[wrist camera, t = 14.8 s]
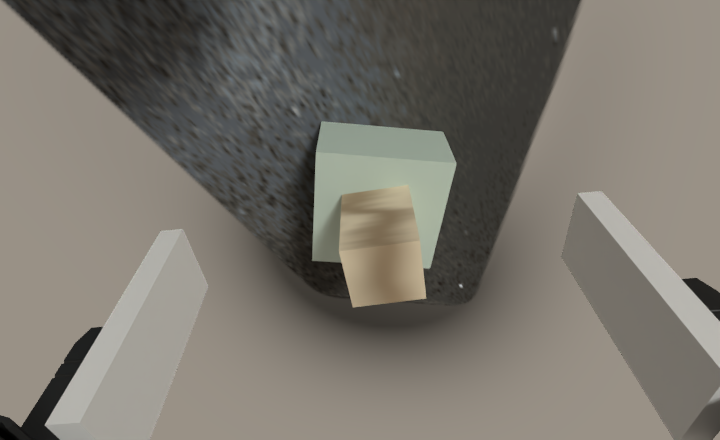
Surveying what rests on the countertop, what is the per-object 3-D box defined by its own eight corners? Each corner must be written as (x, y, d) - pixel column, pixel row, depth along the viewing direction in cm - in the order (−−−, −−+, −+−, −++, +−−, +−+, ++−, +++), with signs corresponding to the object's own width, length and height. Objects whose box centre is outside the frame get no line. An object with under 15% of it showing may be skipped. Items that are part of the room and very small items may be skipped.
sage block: (317, 220, 47) (312, 260, 42) (321, 120, 40) (315, 151, 35) (421, 227, 48) (430, 268, 42) (442, 130, 41) (456, 163, 35)
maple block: (353, 246, 40) (352, 307, 34) (341, 194, 37) (338, 251, 31) (414, 237, 40) (426, 298, 33) (408, 184, 37) (419, 240, 30)
